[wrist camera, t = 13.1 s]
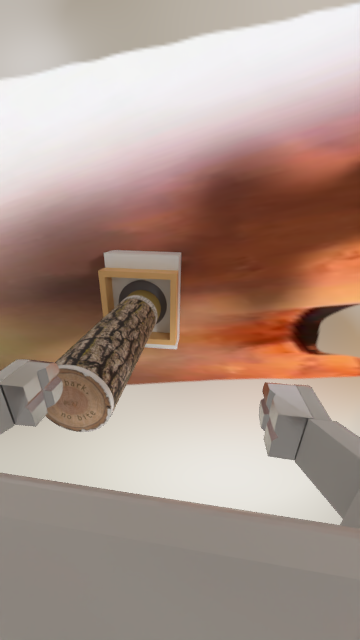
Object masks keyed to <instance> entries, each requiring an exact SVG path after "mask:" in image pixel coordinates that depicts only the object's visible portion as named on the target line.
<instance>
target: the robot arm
mask: <svg viewBox="0 0 360 640" xmlns="http://www.w3.org/2000/svg"><path fill="white" fill-rule="evenodd" d="M59 372H60V371H59V367H58V365H57V364H56V363H53V362H44V361H36V360H26V359H19V360H15V361H14V362H13V363H11V364H10V365H8V366H7V367H5V368H4V369H3V370H1V371H0V434H2V433H3V432H5V431H7V430H8V429H10V428H11V427H13V426H14V424H15V425H25V426H37V425H38V423H39V422H40V421H41V420H42V419H43V418H44V417H45V415H46V414H47V413H48V408H49V407H51V406H53V405H54V404H56V402H57V401H58V400H59V399H60V397H61V394H62V392H63V384H62V380H61V379H60V378H59V377H58V376H57V375H58V374H59ZM263 394H264V399H262V400H261V402H260V407H259V418H260V425H261V428H262V429H263V430H264V431H265V436H264V442H265V445H266V450H267V454H268V456H270V457H277V458H283V459H290V460H295V462H296V464H297V465H298V466H299V467H300V468H301V470H303V472H304V473H305V474H306V475H307V477H308V478H309V479H310V480H311V481H312V483H313V484H314V485H315V486H316V487H317V489H318V490H319V491H320V492H321V493H322V495H323V496H324V497H325V498H326V499H327V500H328V502H329V503H330V504H331V505H332V506H333V508H334V509H335V510H336V511H337V512H338V514H339V515H340V516H341V517H342V518H343V521H342V523H341V524H340V525H334V524H328V523H322V522H315V521H308V520H303V519H296V518H290V517H283V516H277V515H270V514H264V513H257V512H251V511H244V510H238V509H232V508H225V507H218V506H212V505H205V504H199V503H192V502H185V501H179V500H173V499H166V498H160V497H153V496H146V495H140V494H133V493H127V492H121V491H114V490H108V489H101V488H95V487H89V486H82V485H76V484H69V483H63V482H57V481H50V480H43V479H37V478H31V477H24V476H18V475H12V474H5V473H0V640H360V437H358V436H357V435H355V434H354V433H353V432H351V431H350V430H348V429H347V428H346V427H344V426H343V425H341V424H340V423H338V422H337V421H332V420H331V418H330V417H329V415H328V414H327V412H326V410H325V409H324V407H323V405H322V404H321V402H320V400H319V399H318V397H317V396H316V394H315V392H314V391H313V389H312V387H310V386H308V385H287V384H276V383H265V384H264V387H263Z"/></svg>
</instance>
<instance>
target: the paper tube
mask: <svg viewBox="0 0 360 640" xmlns="http://www.w3.org/2000/svg"><path fill="white" fill-rule="evenodd" d="M160 313H161V305H160V302H159V300H158V298H157V297H156V296H155V295H154V294H152V293H151V292H149V291H146V290H137V291H134V292H132V293H130V294H129V295H128V296H127V297H126V298H125V299H124V300H122V301H121V302H120V303H119V304H118V305H117V306H116V307H115V308H114V309H113V310H112V311H111V312H109V313H108V314H107V315H106V316H105V317H104V318H103V319H102V320H101V321H100V322H99V323H97V324H96V325H95V326H94V327H93V328H92V329H91V330H90V331H89V332H88V333H87V334H86V335H84V336H83V337H82V338H81V339H80V340H79V341H78V342H77V343H76V344H75V345H74V346H72V347H71V348H70V349H69V350H68V351H67V352H66V353H65V354H64V355H63V356H62V357H60V358H59V359H58V360H57V361H56V362H55V363H56V364H57V365H58V367H59V371H60V372H59V374H58V375H57V376H58V377H59V378H60V379H61V380H62V384H63V392H62V394H61V397H60V399H59V400H58V401H57V402H56V404H54V405H53V406H51V407H49V408H48V413H47V414H46V415H45V416H46V417H47V418H48V419H49V420H51V421H52V422H54V423H55V424H57V425H59V426H61V427H63V428H66V429H68V430H72V431H77V432H89V431H93V430H96V429H99V428H101V427H102V426H104V425H105V424H106V422H107V421H108V420H109V418H110V416H111V414H112V413H113V411H114V408H115V407H116V404H117V402H118V400H119V398H120V396H121V394H122V392H123V390H124V388H125V386H126V384H127V382H128V380H129V378H130V376H131V374H132V372H133V370H134V368H135V365H136V363H137V361H138V359H139V357H140V355H141V353H142V351H143V349H144V347H145V345H146V343H147V341H148V339H149V337H150V335H151V333H152V331H153V329H154V326H155V324H156V322H157V320H158V318H159V316H160Z"/></svg>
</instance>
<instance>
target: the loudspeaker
mask: <svg viewBox="0 0 360 640" xmlns="http://www.w3.org/2000/svg"><path fill="white" fill-rule="evenodd" d="M104 261H105V268H103V269H101V270H98V275H99V284H100V293H101V302H102V311H103V318H104V317H105V316H106V315H107V314H108V313H109V312H111V311H112V310H113V309H114V308H115V307H116V306H117V305H118V304H119V303H120V302H121V301H122V300H124V299H125V298H126V297H127V296H128V295H129V294H130V293H132V292H134V291H137V290H146V291H149V292H151V293H152V294H154V295H155V296H156V297H157V298H158V300H159V302H160V305H161V313H160V316H159V318H158V320H157V322H156V324H155V326H154V329H153V331H152V333H151V335H150V337H149V339H148V341H147V343H146V345H145V347H149V348H164V349H177V346H178V341H179V325H180V286H181V252H156V251H128V250H112V251H109V252H105V253H104Z"/></svg>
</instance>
